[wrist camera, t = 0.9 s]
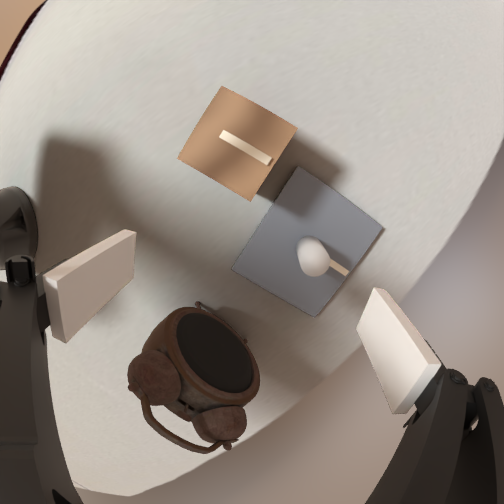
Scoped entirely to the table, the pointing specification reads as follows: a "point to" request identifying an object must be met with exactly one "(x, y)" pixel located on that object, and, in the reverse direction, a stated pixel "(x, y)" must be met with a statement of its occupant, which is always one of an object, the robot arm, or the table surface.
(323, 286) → the plate
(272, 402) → the table surface
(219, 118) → the tan drawer box
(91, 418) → the table surface
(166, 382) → the alarm clock
